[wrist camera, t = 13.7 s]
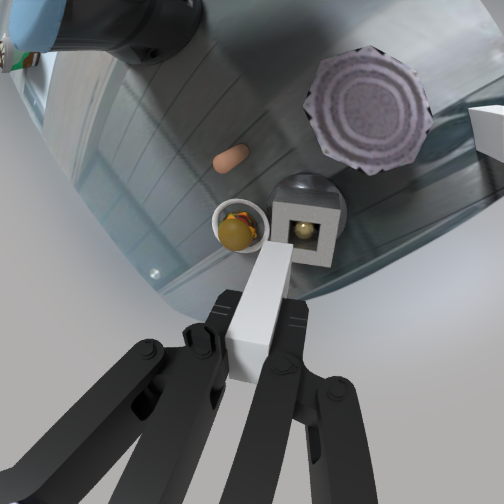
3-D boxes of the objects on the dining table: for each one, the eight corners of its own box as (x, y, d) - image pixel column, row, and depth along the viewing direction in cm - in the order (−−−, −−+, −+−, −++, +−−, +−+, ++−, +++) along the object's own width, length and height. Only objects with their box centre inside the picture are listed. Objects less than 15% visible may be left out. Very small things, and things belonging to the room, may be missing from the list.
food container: (49, 42, 30) (11, 45, 21) (39, 67, 33) (2, 74, 25) (29, 29, 28) (-4, 32, 19) (20, 52, 31) (-13, 57, 23)
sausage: (230, 154, 36) (209, 166, 30) (238, 140, 35) (218, 150, 29) (244, 162, 36) (225, 177, 30) (252, 149, 35) (235, 160, 29)
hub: (254, 218, 40) (242, 237, 35) (296, 157, 34) (291, 167, 29) (315, 259, 41) (312, 283, 36) (362, 205, 35) (368, 223, 30)
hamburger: (210, 255, 46) (197, 273, 42) (200, 186, 40) (184, 199, 36) (281, 261, 44) (275, 281, 39) (280, 187, 37) (274, 200, 33)
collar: (277, 236, 40) (269, 258, 35) (280, 185, 36) (272, 201, 31) (330, 243, 38) (330, 267, 33) (338, 192, 34) (340, 209, 29)
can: (374, 54, 24) (397, 32, 14) (413, 134, 28) (451, 151, 18) (295, 87, 29) (280, 79, 19) (336, 165, 33) (342, 194, 23)
